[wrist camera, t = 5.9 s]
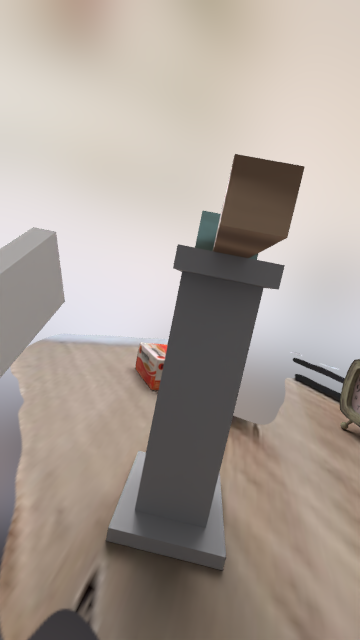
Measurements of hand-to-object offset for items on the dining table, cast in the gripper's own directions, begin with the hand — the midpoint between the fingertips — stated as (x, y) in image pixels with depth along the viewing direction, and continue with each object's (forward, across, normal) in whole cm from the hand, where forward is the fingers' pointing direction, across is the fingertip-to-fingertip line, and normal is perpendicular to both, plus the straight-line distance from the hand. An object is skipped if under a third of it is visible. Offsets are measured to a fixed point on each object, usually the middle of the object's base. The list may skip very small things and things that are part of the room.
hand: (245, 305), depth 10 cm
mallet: (+17, 0, +6) cm, 18 cm away
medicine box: (+44, +8, +57) cm, 73 cm away
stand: (+7, 0, +35) cm, 36 cm away
